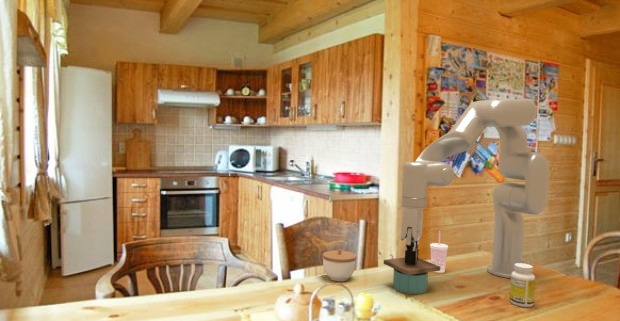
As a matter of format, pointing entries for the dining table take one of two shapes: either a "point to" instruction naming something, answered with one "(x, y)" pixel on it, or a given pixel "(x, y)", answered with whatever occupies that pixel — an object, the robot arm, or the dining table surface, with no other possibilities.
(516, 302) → the pill bottle
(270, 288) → the dining table surface
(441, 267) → the beverage cup
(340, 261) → the lidded jar
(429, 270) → the lid
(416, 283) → the bowl
